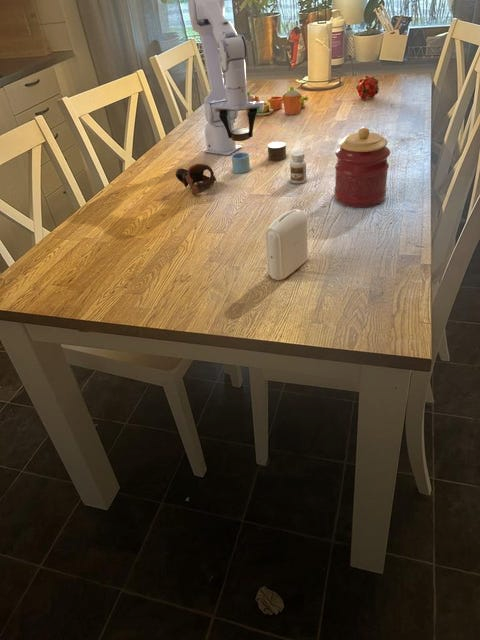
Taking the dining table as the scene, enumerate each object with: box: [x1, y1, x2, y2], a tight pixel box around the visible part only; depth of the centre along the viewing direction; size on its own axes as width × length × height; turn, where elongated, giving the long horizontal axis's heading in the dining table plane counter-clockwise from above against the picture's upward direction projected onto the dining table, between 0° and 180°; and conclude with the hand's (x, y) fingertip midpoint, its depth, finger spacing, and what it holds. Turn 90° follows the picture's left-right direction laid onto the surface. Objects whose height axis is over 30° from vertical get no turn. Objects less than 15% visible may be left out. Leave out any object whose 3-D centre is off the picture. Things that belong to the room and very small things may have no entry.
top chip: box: [231, 127, 251, 142], centre depth 144 cm, size 6×6×2 cm
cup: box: [231, 152, 251, 174], centre depth 149 cm, size 5×5×4 cm
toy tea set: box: [247, 85, 309, 117], centre depth 195 cm, size 26×16×10 cm, turn 81°
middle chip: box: [267, 141, 287, 154], centre depth 154 cm, size 6×6×2 cm
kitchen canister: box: [334, 126, 391, 208], centre depth 123 cm, size 13×13×18 cm
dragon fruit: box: [355, 75, 380, 100], centre depth 199 cm, size 8×8×12 cm
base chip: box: [267, 151, 287, 162], centre depth 156 cm, size 6×6×2 cm
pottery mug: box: [175, 163, 217, 197], centre depth 140 cm, size 12×10×8 cm
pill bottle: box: [289, 151, 307, 184], centre depth 138 cm, size 4×4×8 cm
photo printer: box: [265, 208, 309, 281], centre depth 100 cm, size 10×4×12 cm, turn 140°
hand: (240, 136), depth 145 cm, fingers closed on top chip, 5 cm apart
